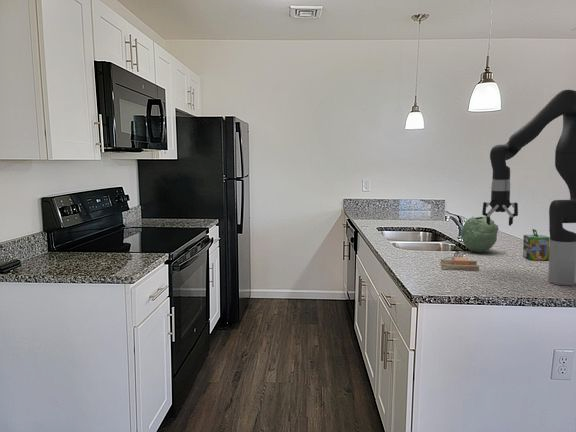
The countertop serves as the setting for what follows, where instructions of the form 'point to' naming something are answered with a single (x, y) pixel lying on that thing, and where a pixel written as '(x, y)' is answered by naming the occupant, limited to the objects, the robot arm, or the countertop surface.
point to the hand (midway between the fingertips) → (499, 225)
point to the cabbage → (479, 234)
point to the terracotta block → (461, 261)
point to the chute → (450, 265)
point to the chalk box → (536, 247)
